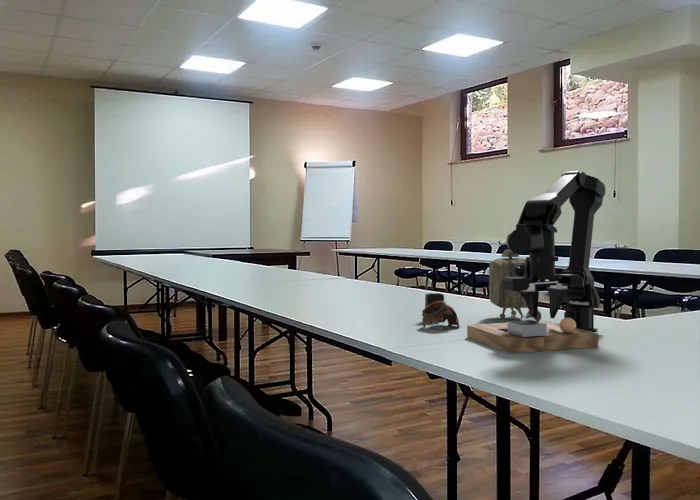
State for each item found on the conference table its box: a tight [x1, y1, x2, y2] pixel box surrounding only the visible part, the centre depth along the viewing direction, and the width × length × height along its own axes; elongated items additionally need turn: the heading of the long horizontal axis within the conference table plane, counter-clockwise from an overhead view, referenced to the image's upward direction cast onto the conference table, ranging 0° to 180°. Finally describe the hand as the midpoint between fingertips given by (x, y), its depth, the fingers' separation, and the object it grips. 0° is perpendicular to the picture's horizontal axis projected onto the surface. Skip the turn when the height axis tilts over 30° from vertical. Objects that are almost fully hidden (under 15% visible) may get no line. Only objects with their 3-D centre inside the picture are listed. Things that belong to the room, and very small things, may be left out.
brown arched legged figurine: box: [421, 300, 461, 329], centre depth 161 cm, size 12×10×8 cm
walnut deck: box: [466, 320, 599, 354], centre depth 138 cm, size 22×20×3 cm
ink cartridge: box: [424, 292, 445, 314], centre depth 171 cm, size 5×2×8 cm, turn 103°
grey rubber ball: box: [526, 309, 542, 322], centre depth 147 cm, size 4×4×4 cm
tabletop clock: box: [488, 233, 528, 320], centre depth 173 cm, size 14×9×25 cm, turn 179°
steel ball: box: [520, 313, 536, 321], centre depth 138 cm, size 4×4×4 cm
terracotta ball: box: [559, 317, 576, 333], centre depth 132 cm, size 4×4×4 cm
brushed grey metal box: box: [507, 319, 547, 337], centre depth 130 cm, size 6×6×2 cm
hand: (543, 318), depth 139 cm, fingers open, 5 cm apart
